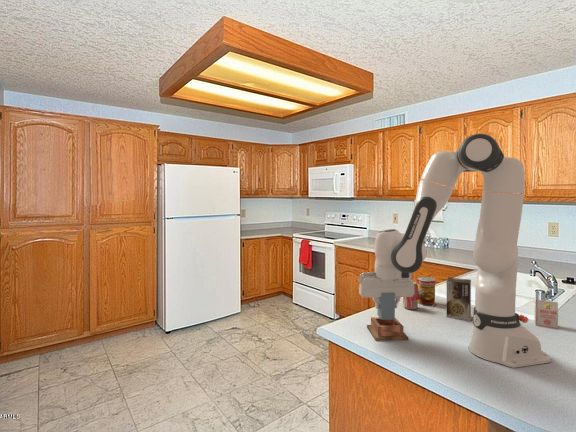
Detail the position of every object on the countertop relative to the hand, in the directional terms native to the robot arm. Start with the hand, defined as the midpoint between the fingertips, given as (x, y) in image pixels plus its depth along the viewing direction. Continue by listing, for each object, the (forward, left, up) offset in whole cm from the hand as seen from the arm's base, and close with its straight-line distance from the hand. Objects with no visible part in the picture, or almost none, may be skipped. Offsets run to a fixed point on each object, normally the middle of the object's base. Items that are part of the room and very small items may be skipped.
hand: (386, 308), depth 122 cm
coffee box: (-36, -15, -10) cm, 40 cm away
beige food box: (-65, -4, -10) cm, 66 cm away
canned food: (-30, -33, -10) cm, 46 cm away
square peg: (0, 0, -4) cm, 4 cm away
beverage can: (-20, -27, -10) cm, 35 cm away
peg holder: (0, 0, -10) cm, 10 cm away
